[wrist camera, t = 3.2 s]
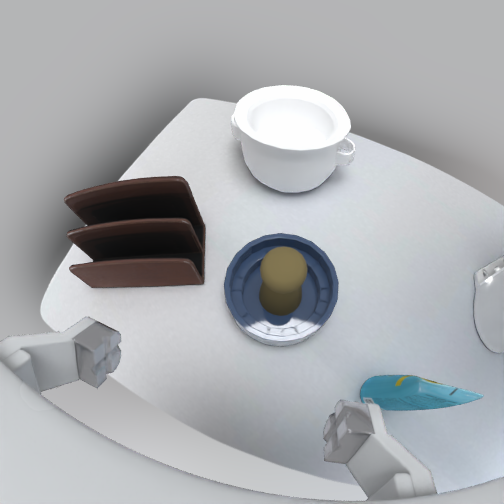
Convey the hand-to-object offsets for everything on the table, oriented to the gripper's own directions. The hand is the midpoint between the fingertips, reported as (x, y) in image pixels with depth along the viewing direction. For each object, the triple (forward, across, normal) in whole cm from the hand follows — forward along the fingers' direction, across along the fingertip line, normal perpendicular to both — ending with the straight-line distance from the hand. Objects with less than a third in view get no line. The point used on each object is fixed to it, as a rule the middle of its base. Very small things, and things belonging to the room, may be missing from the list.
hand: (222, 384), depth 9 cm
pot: (+46, +2, -10) cm, 47 cm away
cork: (+30, -2, +8) cm, 31 cm away
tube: (+23, -19, +16) cm, 33 cm away
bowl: (+30, -2, +8) cm, 31 cm away
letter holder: (+32, +19, +9) cm, 39 cm away
